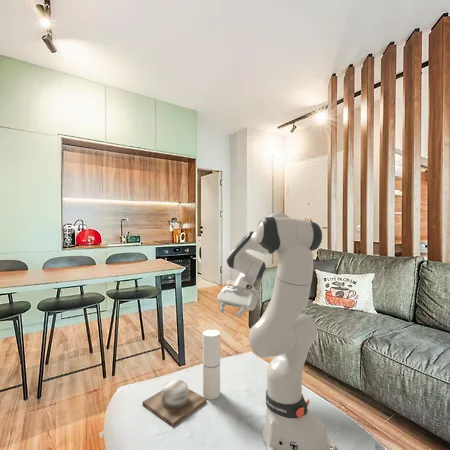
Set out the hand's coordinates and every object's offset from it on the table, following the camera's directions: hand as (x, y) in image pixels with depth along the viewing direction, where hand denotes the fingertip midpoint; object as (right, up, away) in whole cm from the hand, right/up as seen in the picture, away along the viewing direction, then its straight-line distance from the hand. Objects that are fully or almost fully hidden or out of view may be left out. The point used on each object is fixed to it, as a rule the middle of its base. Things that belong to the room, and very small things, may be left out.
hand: (229, 314), depth 120 cm
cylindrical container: (-7, -30, -9) cm, 32 cm away
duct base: (-21, -30, -15) cm, 40 cm away
